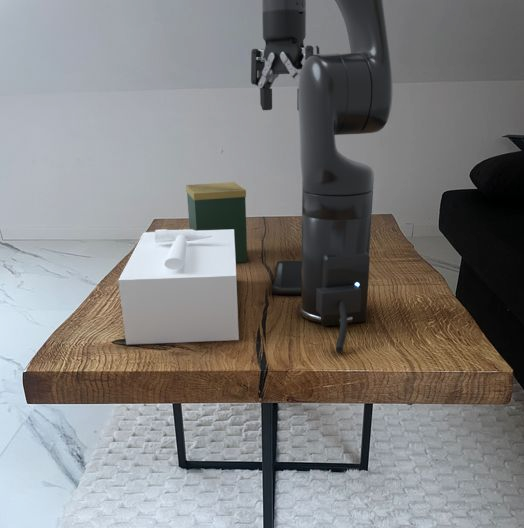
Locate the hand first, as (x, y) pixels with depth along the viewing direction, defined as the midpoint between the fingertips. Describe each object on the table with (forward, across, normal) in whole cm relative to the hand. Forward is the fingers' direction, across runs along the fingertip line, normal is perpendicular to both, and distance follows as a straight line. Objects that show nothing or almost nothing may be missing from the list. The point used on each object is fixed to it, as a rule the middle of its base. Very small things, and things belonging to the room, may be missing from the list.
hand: (284, 110), depth 111 cm
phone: (+25, +16, -16) cm, 34 cm away
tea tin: (+25, -4, -15) cm, 29 cm away
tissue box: (+26, +12, -37) cm, 46 cm away
